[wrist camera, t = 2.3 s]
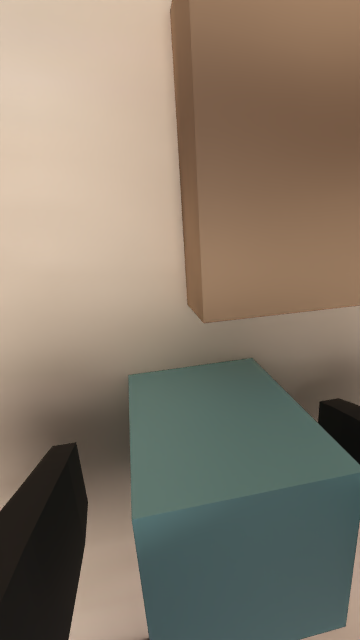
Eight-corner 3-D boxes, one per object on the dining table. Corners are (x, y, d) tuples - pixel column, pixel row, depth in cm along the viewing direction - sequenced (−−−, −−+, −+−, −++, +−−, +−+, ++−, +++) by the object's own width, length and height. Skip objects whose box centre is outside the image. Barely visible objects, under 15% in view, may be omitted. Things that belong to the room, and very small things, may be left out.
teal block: (251, 458, 11) (345, 626, 6) (142, 479, 11) (155, 681, 6) (251, 357, 10) (365, 470, 5) (128, 374, 9) (132, 519, 5)
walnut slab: (385, 280, 10) (457, 294, 8) (184, 301, 9) (203, 322, 7) (417, 30, 8) (523, -44, 6) (167, 22, 7) (185, -70, 5)
